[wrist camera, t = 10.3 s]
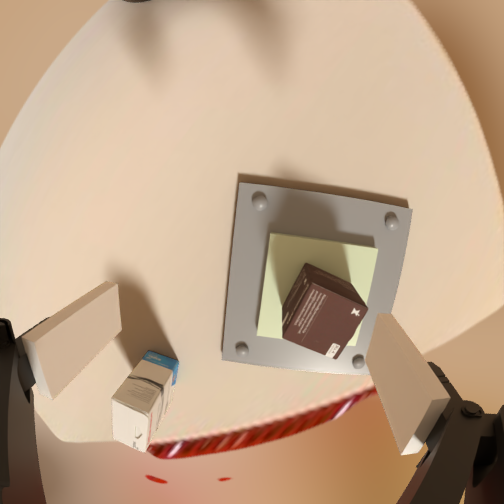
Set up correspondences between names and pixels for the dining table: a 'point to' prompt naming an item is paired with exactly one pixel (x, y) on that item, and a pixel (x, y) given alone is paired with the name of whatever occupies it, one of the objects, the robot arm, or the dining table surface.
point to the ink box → (143, 400)
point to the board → (292, 261)
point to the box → (321, 312)
